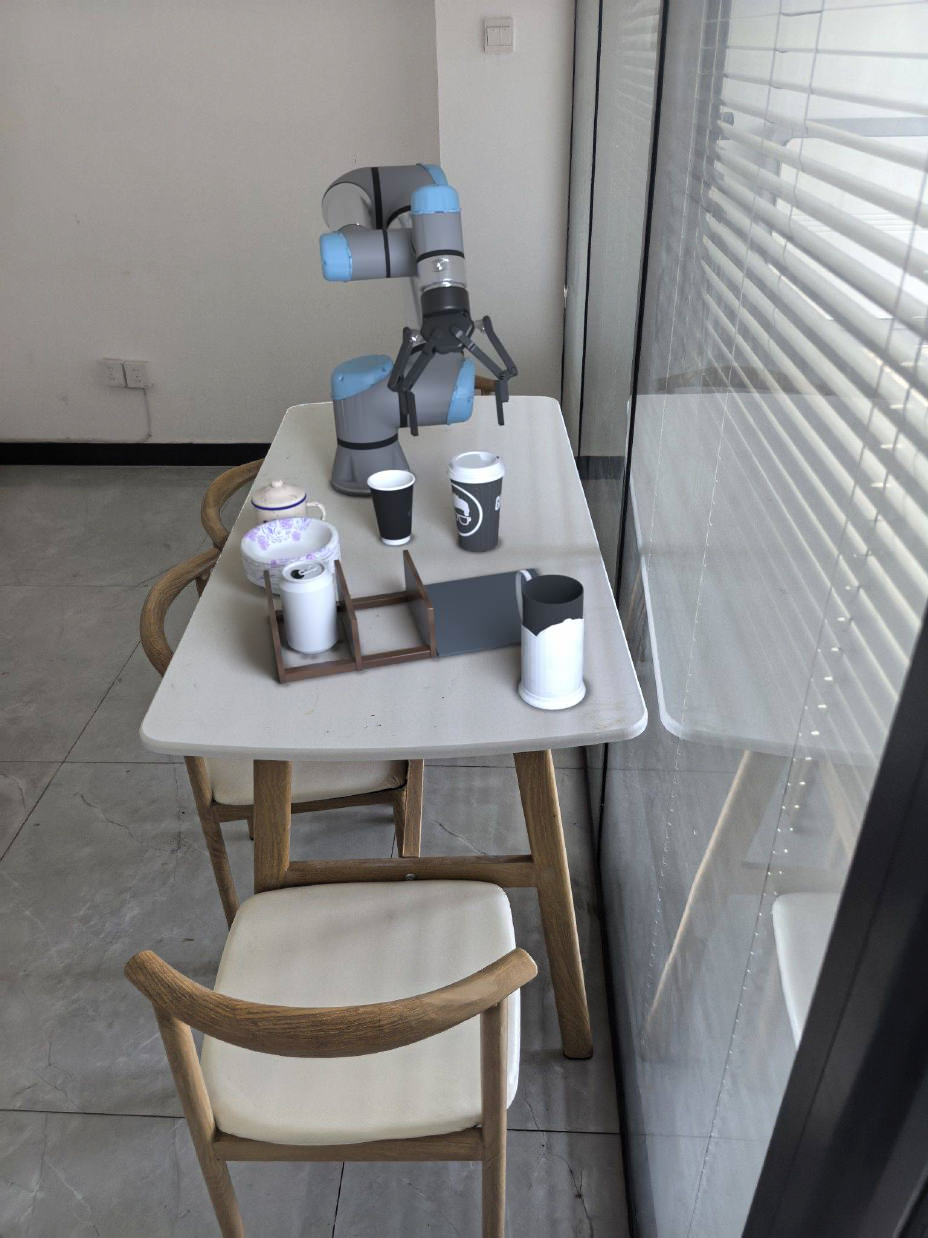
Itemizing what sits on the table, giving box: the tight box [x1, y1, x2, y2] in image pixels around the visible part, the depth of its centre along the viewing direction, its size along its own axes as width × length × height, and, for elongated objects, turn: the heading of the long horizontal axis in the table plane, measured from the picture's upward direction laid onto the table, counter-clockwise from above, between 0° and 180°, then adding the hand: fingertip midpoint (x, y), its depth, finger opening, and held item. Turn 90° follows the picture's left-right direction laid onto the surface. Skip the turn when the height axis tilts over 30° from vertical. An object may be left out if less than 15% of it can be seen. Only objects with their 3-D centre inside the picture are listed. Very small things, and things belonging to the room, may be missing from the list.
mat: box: [423, 567, 540, 658], centre depth 143 cm, size 20×20×1 cm
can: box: [278, 559, 341, 655], centre depth 134 cm, size 8×8×12 cm
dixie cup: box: [367, 470, 416, 546], centre depth 162 cm, size 8×8×11 cm
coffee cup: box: [446, 449, 507, 553], centre depth 158 cm, size 10×10×15 cm
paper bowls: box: [239, 516, 342, 596], centre depth 151 cm, size 15×15×8 cm
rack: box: [263, 549, 438, 684], centre depth 136 cm, size 18×21×8 cm
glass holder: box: [516, 569, 587, 711], centre depth 124 cm, size 9×14×15 cm, turn 24°
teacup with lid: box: [250, 477, 327, 526], centre depth 162 cm, size 12×9×12 cm
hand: (457, 429), depth 149 cm, fingers open, 13 cm apart
